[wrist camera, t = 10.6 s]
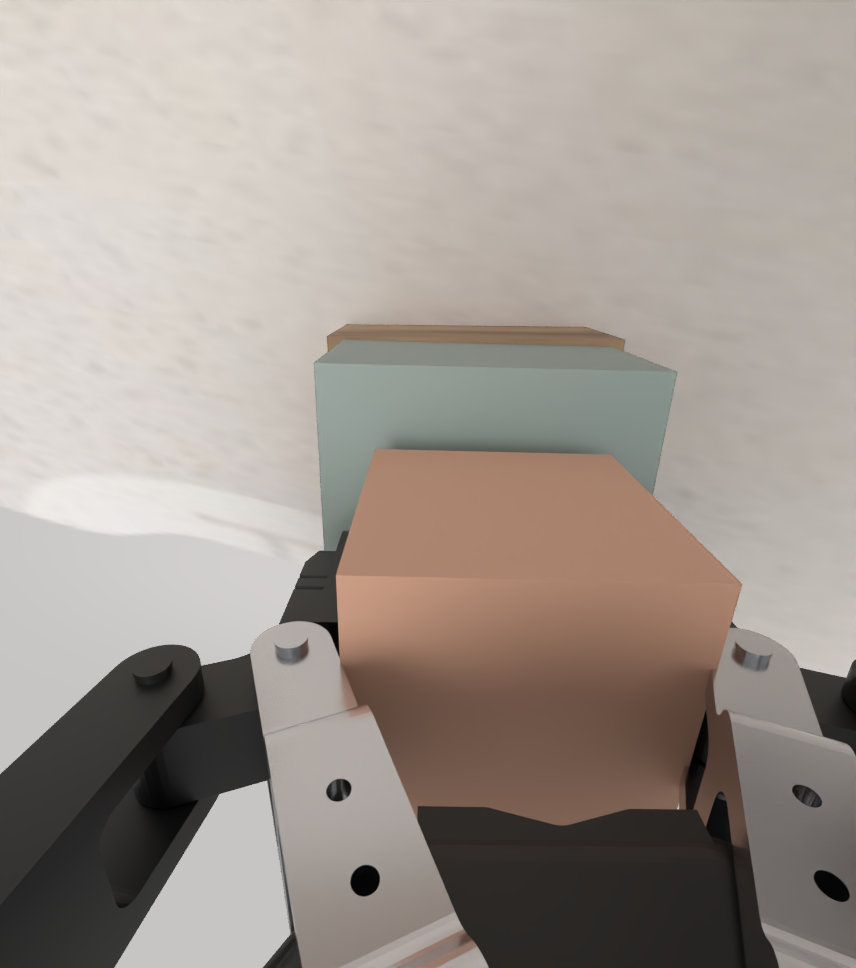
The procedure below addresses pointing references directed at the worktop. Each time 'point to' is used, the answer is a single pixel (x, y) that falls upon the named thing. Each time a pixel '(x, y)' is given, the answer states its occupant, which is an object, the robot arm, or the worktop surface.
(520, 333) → the tower base
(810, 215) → the worktop surface
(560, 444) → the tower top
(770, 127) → the worktop surface
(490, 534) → the terracotta cube
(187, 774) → the robot arm
